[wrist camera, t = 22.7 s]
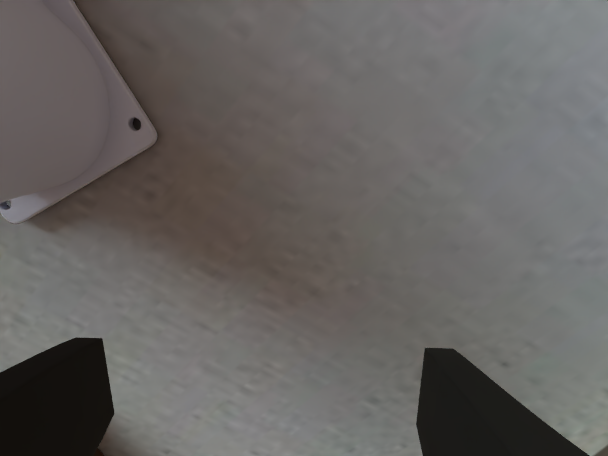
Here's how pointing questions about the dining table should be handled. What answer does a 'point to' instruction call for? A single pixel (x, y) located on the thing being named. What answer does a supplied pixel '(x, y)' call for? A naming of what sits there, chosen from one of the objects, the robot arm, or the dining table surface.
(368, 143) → the dining table surface
